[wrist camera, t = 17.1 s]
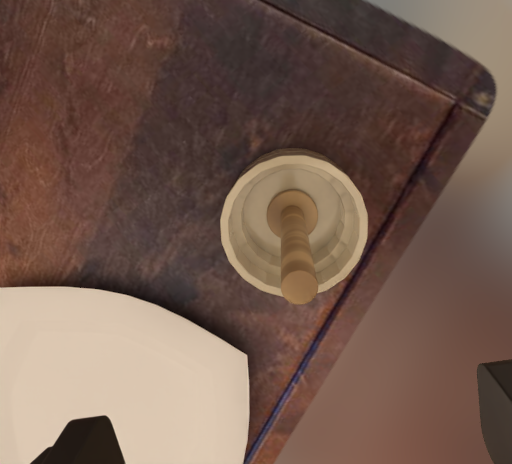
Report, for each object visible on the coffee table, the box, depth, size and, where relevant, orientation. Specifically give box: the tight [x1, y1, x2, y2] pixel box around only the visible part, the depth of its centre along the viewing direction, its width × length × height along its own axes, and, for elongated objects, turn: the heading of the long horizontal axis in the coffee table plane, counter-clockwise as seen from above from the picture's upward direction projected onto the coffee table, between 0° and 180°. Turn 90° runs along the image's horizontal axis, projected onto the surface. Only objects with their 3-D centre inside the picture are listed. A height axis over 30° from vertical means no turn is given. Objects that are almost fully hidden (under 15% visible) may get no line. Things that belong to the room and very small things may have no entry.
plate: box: [0, 287, 250, 464], centre depth 42 cm, size 27×27×2 cm
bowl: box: [220, 148, 368, 297], centre depth 34 cm, size 10×10×6 cm
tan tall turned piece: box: [267, 189, 318, 305], centre depth 29 cm, size 4×4×15 cm
